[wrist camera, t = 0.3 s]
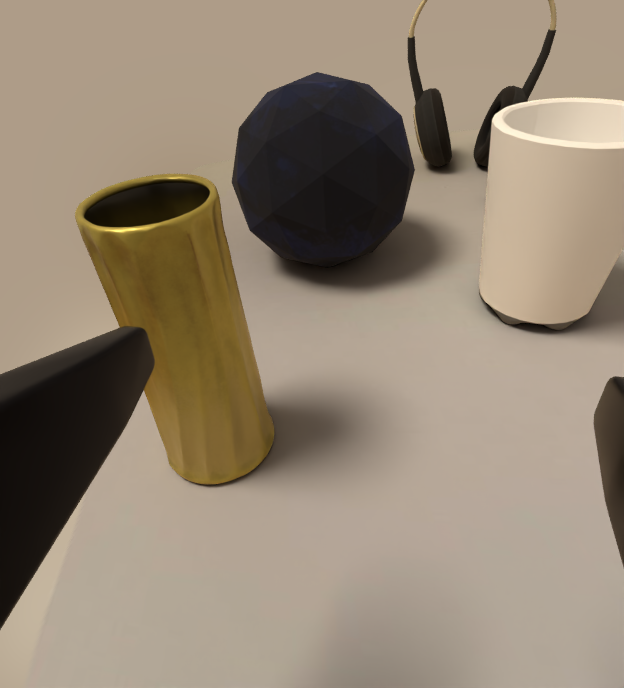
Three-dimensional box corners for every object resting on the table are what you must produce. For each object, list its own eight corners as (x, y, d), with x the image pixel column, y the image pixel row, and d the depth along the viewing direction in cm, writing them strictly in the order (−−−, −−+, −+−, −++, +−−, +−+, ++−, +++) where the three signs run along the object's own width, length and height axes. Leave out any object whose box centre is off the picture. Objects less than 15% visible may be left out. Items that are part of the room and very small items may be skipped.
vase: (147, 442, 26) (35, 205, 17) (232, 385, 30) (175, 159, 20) (207, 508, 23) (106, 255, 14) (297, 437, 26) (263, 191, 17)
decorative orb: (247, 161, 47) (207, 31, 32) (395, 150, 46) (423, 13, 32) (249, 294, 44) (206, 217, 29) (408, 284, 43) (445, 201, 28)
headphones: (402, 152, 61) (413, -43, 48) (520, 152, 58) (565, -56, 46) (398, 176, 55) (410, -41, 42) (530, 177, 52) (586, -56, 39)
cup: (504, 357, 30) (559, 157, 22) (439, 280, 37) (462, 109, 29) (639, 329, 31) (739, 129, 23) (550, 260, 39) (602, 90, 30)
